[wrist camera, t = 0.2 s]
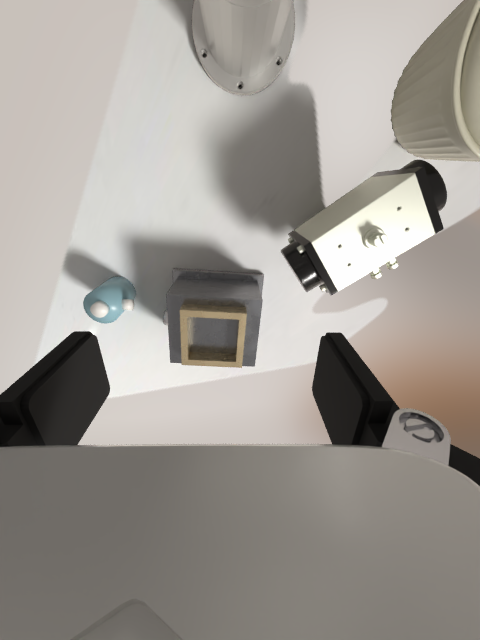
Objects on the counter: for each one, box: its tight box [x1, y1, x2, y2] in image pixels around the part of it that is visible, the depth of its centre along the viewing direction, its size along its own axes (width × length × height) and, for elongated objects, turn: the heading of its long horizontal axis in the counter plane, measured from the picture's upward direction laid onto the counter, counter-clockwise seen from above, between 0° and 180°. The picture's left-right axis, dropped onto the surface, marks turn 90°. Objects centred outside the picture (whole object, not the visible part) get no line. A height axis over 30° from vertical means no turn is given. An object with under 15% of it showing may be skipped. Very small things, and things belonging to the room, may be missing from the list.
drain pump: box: [83, 277, 136, 323], centre depth 44 cm, size 6×7×9 cm
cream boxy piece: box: [281, 160, 447, 295], centre depth 35 cm, size 18×8×18 cm, turn 125°
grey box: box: [163, 268, 264, 368], centre depth 44 cm, size 14×17×12 cm
